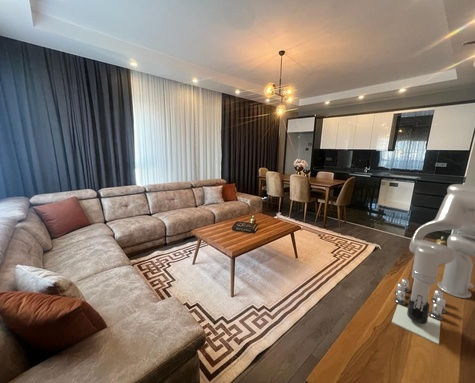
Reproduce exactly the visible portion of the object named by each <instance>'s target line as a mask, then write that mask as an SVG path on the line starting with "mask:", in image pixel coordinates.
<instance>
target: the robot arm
mask: <svg viewBox="0 0 475 383" xmlns="http://www.w3.org/2000/svg"><path fill="white" fill-rule="evenodd" d="M446 192H447V194H446V195H445V196H444V198H443V200H442V202H441V205H440V207H439V209H438V212H437V214H436V216H435V218H434V219H433V220H431V221H428V222H426V223H424V224H423V225H420V226H419V227H418V228H417V229H416V230H415V232H414V234H413V236H412V238H411V240H410V243H409V247H408V248H409V251H410V252H411V253H413V254H414V258H413V263H412V264H413V265H412V270H411V277H412V278H413V284H412V289H411V295H410V296H411V301H415V303H414V307H413V310H412V316H414V317H416V318H418V319H422V315H423V311H422V310H423V305H426V302H427V301H428V300H427V299H429V296H430V291H431V286H432V285H435V284H436V283H437V287H438V288H439V290H441V291H442V292H443V293H446V294H448V295H450V296H453V297H457V298H461V299H470V298H471V297H472V292H471V291H469V289H470V288H474V283H471V282H470V281H471V277H472V271H473V269H474V268H473V267H474V262H473V261H472V258H475V185H474V184H462V183H461V184H460V183H459V184H458V183H455V184H454V183H453V184H450V185H449V186H448V187H447V189H446ZM452 230H453V231H454V230H455V232H457V233H452V234H450V235H449V236H448V237H447V240H446V245H445V244H440V243H437V242H433V241H429V240H427V239H424V238H425V236H426V235H428V234H430V233H433V232H437V231H438V232H439V231H452ZM471 257H472V258H471ZM439 265H444V269H443V274H442V280H441V281H438V282H437V276H438V271H439ZM416 300H417V301H416ZM421 302H423V303H421ZM416 303H417V304H416ZM420 305H421V307H420Z"/></svg>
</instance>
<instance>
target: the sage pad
mask: <svg viewBox="0 0 475 383" xmlns="http://www.w3.org/2000/svg"><path fill="white" fill-rule="evenodd" d="M407 309H408V307H406V306H405V305H400V304H398V303H397V305H396V309H395V310H394V314H393V317H392V320H391V324H393V325H395V326H398V327H400V328H402V329H404V330H407V331H408V332H410V333H413V334H415V335H417V336H418V337H421V338H423V339H425V340H428V341H430V342H432V343H434V344H436V345H438V346H439V345H440V333H441V320H437V319H434V318H432V317H431V316H428V321H427V323H426V324H419V323H416V322H414V321H412V320H411V319H410V318H409V317H408V316H407Z"/></svg>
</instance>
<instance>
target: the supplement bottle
mask: <svg viewBox="0 0 475 383" xmlns="http://www.w3.org/2000/svg"><path fill="white" fill-rule="evenodd" d="M428 299H429V298H428ZM428 299H427V302H426V305H423V310H422V311H423V315H422V319H418V318H416V317H414V316H412V310H413V307H414V303H415V301H411V295H410V296H409V297H408V304H407V308H408V309H407V316H408V317H409V318H410V319H411V320H412V321H414V322H416V323H419V324H426V323H427V321H428V317H429V312H430V307H431V306H430V302H429V301H428ZM416 301H417V300H416ZM421 303H423V302H421ZM416 304H417V303H416ZM420 307H421V305H420Z"/></svg>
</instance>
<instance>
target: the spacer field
mask: <svg viewBox="0 0 475 383" xmlns="http://www.w3.org/2000/svg"><path fill="white" fill-rule="evenodd" d="M409 285H410V280H409V279H407V278H404V277H403V278H401V282H397V285H396V286H397V287H396V290H395V291H394V295H395V296H396V297H395V298H394V302H395V303H396V304H397V305H398V304H399V305H401V306H406V303H407V302H406V301H405V299H406V293H407V294H408V293H410V289H409ZM430 298H431V297H430ZM430 301H431V302H432V303H433V304H432V308H431V311H429V314H428V316H429V317H430V318H433V319H435V320H438V321H443V318H444V317H443V316H442V314H446V313H447V310H446V309H445V307H446V302H447V300H446V298H444V291H442V290H441V289H438V288H437V289H434V293H433V297H432V298H431V299H430Z"/></svg>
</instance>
